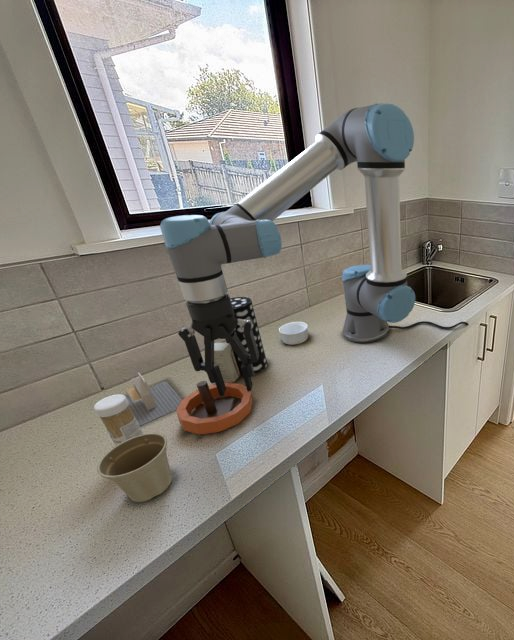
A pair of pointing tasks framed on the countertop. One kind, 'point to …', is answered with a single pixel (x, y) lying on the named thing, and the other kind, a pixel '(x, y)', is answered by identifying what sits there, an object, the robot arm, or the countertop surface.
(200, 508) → the countertop surface
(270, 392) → the countertop surface
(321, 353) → the countertop surface
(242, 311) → the spotted tube
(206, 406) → the stand
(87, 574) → the countertop surface
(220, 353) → the pale small box
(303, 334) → the ramekin
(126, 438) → the sprinkles bottle
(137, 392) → the architectural model
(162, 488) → the flower pot
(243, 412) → the ring
